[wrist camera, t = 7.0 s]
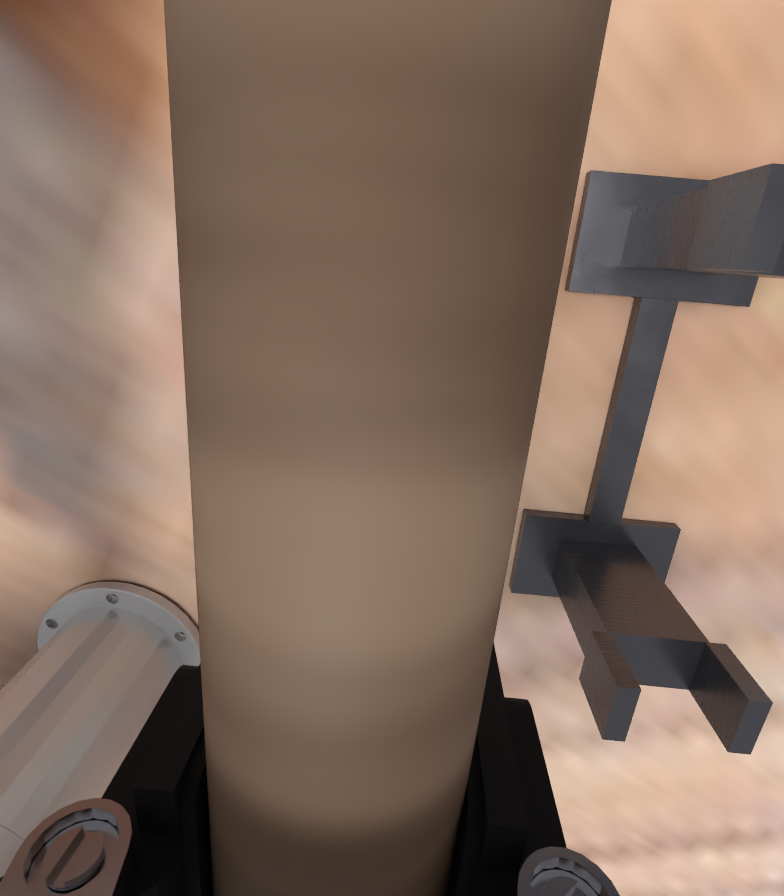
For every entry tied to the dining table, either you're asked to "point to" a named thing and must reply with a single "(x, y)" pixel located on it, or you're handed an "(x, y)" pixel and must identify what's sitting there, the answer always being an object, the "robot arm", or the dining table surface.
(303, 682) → the rod
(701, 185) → the rack
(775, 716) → the dining table surface
